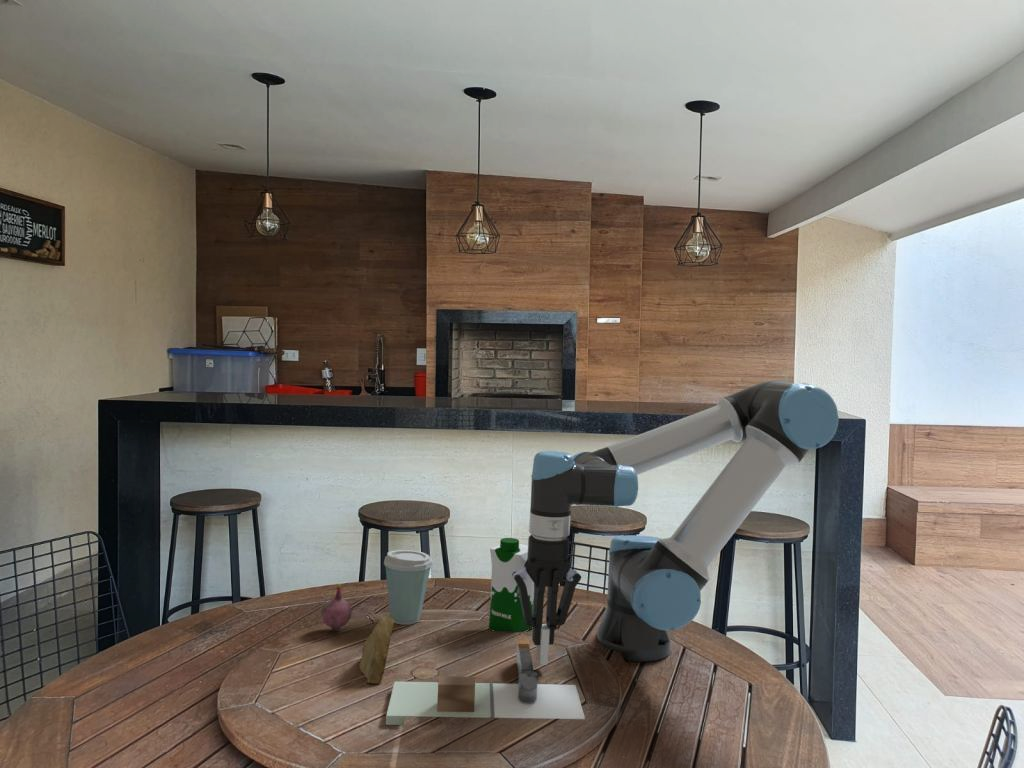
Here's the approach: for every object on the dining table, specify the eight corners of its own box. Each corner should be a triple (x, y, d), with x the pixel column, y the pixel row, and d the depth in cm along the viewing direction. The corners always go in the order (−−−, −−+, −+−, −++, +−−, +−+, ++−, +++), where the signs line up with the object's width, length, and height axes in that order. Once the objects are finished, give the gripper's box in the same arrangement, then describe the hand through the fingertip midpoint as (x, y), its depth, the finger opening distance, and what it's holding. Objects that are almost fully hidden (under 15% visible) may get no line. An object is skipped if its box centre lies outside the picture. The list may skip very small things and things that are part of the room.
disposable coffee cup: (405, 607, 171) (407, 543, 170) (440, 619, 164) (443, 552, 163) (371, 620, 162) (373, 553, 161) (407, 633, 156) (409, 563, 155)
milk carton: (482, 630, 159) (486, 538, 158) (505, 618, 166) (509, 530, 165) (517, 641, 154) (521, 546, 153) (539, 628, 162) (543, 537, 161)
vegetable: (355, 633, 155) (357, 586, 154) (327, 638, 151) (328, 590, 151) (344, 623, 160) (346, 577, 159) (316, 628, 156) (318, 582, 156)
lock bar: (537, 702, 124) (538, 675, 124) (518, 702, 124) (519, 675, 123) (530, 660, 140) (531, 636, 140) (513, 659, 140) (514, 636, 140)
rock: (393, 677, 130) (415, 648, 140) (365, 637, 130) (389, 610, 140) (349, 702, 134) (374, 672, 143) (322, 663, 134) (349, 636, 143)
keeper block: (474, 703, 123) (475, 676, 123) (474, 712, 120) (475, 685, 120) (438, 702, 123) (439, 676, 123) (437, 711, 120) (438, 684, 120)
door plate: (574, 693, 132) (575, 684, 132) (584, 727, 120) (585, 718, 120) (394, 689, 130) (394, 681, 130) (386, 724, 118) (386, 715, 118)
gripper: (519, 541, 131) (512, 671, 132) (589, 541, 134) (581, 668, 135) (510, 530, 138) (503, 654, 140) (576, 530, 141) (569, 651, 142)
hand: (541, 661), depth 137 cm, fingers closed
